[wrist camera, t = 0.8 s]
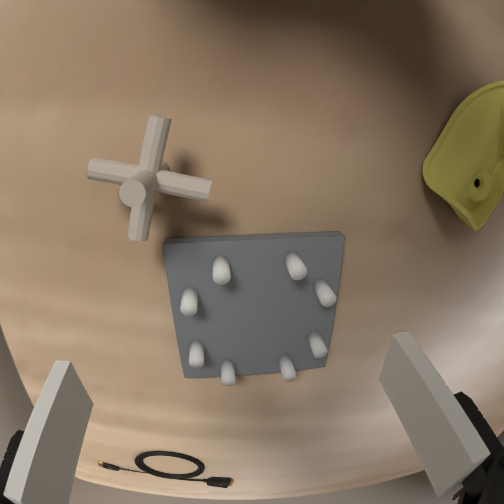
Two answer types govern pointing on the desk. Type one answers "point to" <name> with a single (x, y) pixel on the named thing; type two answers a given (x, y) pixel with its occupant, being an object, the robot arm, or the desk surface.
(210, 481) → the cable
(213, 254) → the grey peg board
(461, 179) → the plastic component
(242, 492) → the desk surface
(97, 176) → the pipe connector
